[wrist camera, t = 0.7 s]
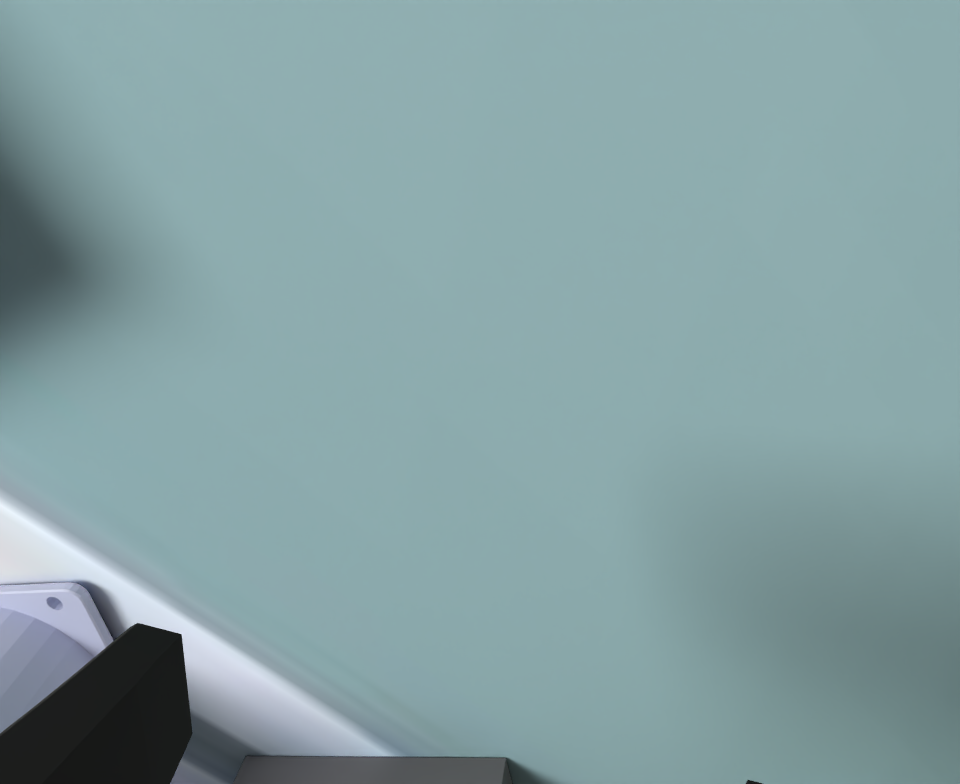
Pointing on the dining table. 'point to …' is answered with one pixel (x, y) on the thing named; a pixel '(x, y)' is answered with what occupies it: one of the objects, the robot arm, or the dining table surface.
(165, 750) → the robot arm
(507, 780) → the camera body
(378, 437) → the dining table surface
